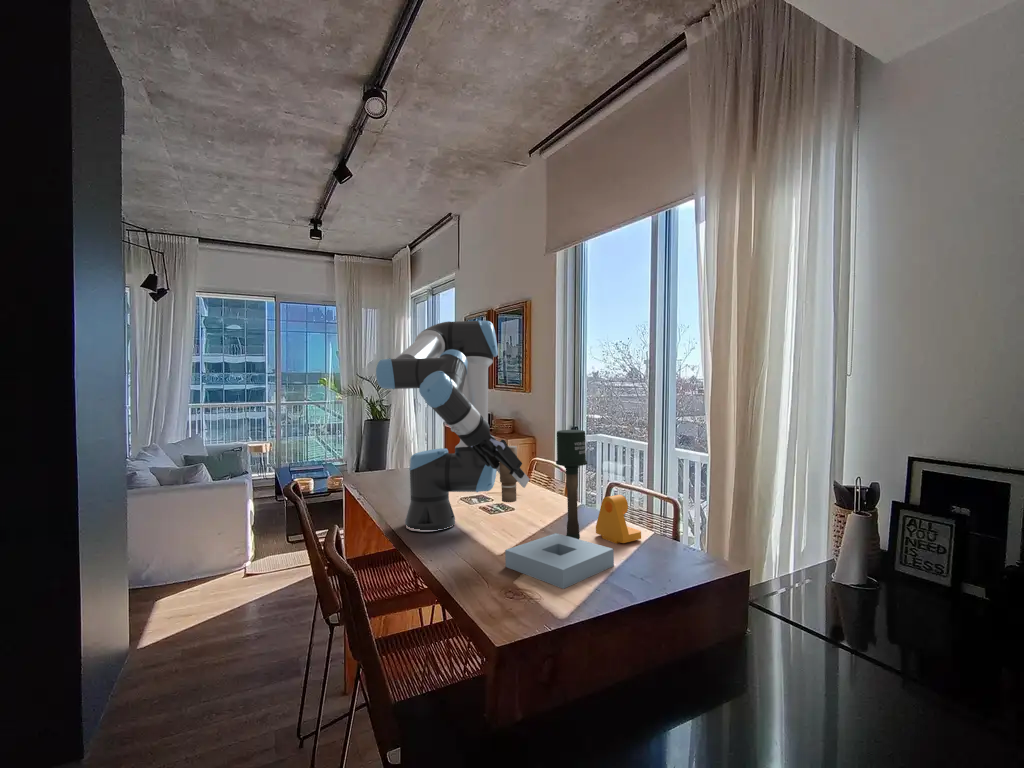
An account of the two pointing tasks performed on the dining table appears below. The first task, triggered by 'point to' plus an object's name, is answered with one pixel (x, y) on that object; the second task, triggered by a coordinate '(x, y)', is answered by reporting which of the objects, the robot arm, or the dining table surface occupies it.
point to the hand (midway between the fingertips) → (519, 481)
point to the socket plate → (559, 559)
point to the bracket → (615, 521)
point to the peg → (508, 481)
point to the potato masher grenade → (571, 471)
